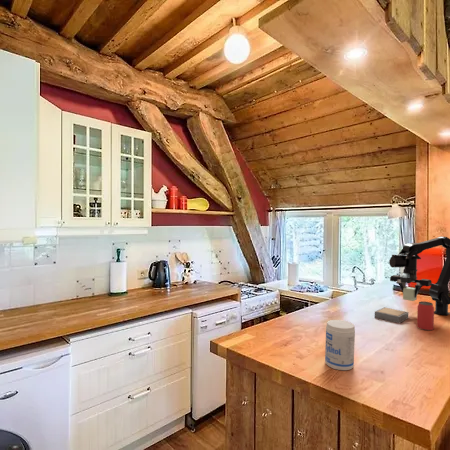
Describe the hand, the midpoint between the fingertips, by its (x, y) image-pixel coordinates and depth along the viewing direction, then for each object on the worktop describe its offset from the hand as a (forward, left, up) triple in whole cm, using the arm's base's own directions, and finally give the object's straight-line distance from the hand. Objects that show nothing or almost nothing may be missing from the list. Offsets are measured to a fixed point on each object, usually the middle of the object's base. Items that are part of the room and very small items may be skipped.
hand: (409, 296), depth 175 cm
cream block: (0, 0, -2) cm, 2 cm away
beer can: (+19, +13, -10) cm, 25 cm away
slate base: (+14, -4, -10) cm, 17 cm away
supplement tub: (+84, +6, -10) cm, 85 cm away
